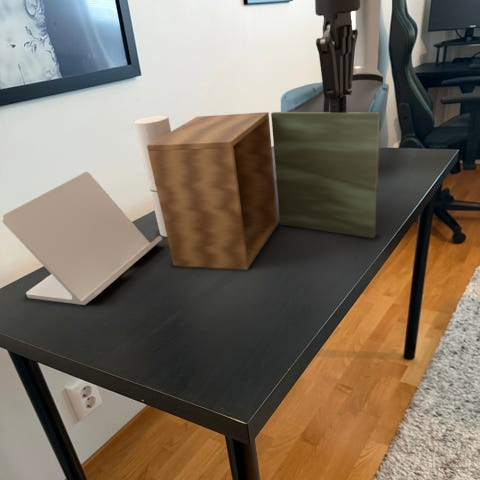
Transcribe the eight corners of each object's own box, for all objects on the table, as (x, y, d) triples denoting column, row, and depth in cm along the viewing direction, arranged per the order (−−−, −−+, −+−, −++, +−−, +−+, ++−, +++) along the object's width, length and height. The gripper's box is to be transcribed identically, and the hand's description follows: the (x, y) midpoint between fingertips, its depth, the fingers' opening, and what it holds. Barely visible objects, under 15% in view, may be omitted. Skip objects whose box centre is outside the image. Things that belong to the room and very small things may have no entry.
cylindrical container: (184, 236, 109) (161, 121, 95) (155, 237, 111) (128, 124, 97) (193, 224, 115) (172, 114, 101) (165, 225, 116) (141, 117, 103)
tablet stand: (25, 297, 94) (-11, 216, 84) (99, 242, 112) (77, 171, 103) (100, 306, 87) (70, 219, 77) (166, 246, 106) (148, 170, 96)
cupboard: (278, 224, 108) (268, 111, 95) (247, 270, 92) (230, 141, 78) (213, 222, 114) (196, 116, 101) (173, 265, 97) (146, 145, 84)
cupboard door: (293, 214, 112) (286, 106, 99) (385, 226, 100) (390, 105, 87) (280, 224, 108) (270, 113, 95) (373, 238, 96) (377, 113, 83)
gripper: (332, -14, 85) (333, 124, 98) (299, -10, 77) (305, 141, 90) (373, -20, 81) (369, 125, 94) (343, -16, 73) (343, 142, 86)
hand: (338, 133), depth 92 cm, fingers closed
